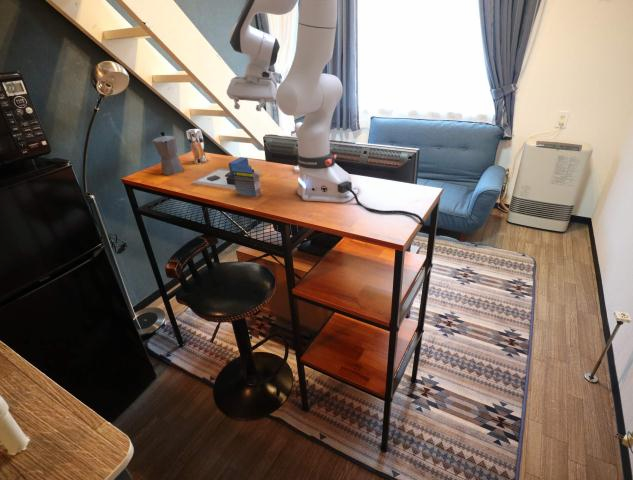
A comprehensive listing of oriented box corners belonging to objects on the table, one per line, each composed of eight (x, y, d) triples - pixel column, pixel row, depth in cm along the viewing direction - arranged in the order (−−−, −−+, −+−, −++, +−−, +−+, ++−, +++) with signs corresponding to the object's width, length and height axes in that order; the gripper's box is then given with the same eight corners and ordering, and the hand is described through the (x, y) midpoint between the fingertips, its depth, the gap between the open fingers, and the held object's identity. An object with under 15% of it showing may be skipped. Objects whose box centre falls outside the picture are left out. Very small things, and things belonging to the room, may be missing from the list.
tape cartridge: (262, 195, 127) (257, 162, 121) (256, 199, 124) (251, 166, 118) (242, 192, 131) (236, 160, 124) (236, 196, 128) (230, 164, 121)
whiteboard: (261, 175, 146) (260, 173, 145) (235, 191, 132) (234, 188, 132) (220, 170, 155) (220, 168, 154) (192, 184, 141) (191, 182, 141)
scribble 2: (237, 173, 147) (237, 172, 146) (233, 176, 143) (233, 175, 143) (228, 173, 147) (228, 172, 147) (225, 176, 144) (224, 175, 144)
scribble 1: (220, 178, 142) (220, 177, 142) (211, 181, 140) (211, 179, 140) (215, 176, 145) (215, 175, 145) (206, 179, 143) (206, 177, 142)
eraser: (254, 175, 144) (252, 156, 139) (237, 185, 134) (233, 165, 130) (245, 173, 146) (242, 155, 141) (227, 184, 136) (223, 164, 132)
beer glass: (197, 159, 171) (189, 128, 163) (210, 159, 170) (203, 128, 162) (190, 164, 165) (182, 132, 157) (204, 164, 164) (197, 132, 156)
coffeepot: (186, 174, 153) (175, 132, 144) (164, 178, 149) (151, 136, 140) (181, 164, 165) (171, 126, 156) (160, 168, 161) (148, 129, 152)
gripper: (228, 71, 138) (220, 102, 136) (276, 74, 133) (268, 106, 131) (235, 81, 144) (227, 111, 142) (280, 84, 139) (273, 115, 137)
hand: (247, 109), depth 136 cm, fingers open, 8 cm apart
